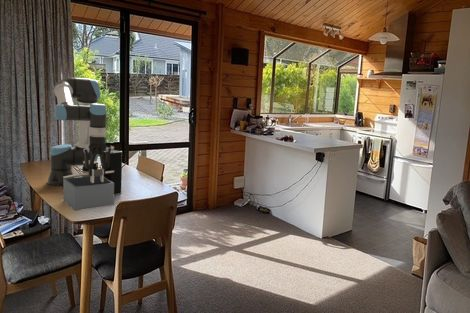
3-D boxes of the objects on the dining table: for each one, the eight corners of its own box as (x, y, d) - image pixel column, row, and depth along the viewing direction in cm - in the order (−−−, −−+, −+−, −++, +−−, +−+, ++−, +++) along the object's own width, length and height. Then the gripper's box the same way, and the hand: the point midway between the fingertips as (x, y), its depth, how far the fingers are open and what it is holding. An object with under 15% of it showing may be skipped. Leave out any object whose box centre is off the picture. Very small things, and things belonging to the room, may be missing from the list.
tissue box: (110, 196, 211) (111, 147, 206) (101, 193, 215) (102, 145, 210) (121, 193, 218) (122, 146, 213) (112, 190, 222) (113, 144, 217)
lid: (63, 180, 195) (63, 174, 195) (101, 176, 208) (100, 171, 208) (78, 177, 177) (77, 171, 177) (118, 173, 190) (117, 167, 190)
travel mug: (98, 190, 220) (98, 160, 216) (95, 194, 212) (95, 163, 208) (84, 189, 219) (84, 160, 215) (80, 193, 211) (80, 162, 207)
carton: (63, 200, 198) (63, 178, 195) (100, 195, 211) (101, 175, 208) (74, 210, 184) (74, 187, 182) (113, 204, 197) (114, 183, 195)
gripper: (82, 137, 173) (82, 185, 178) (117, 136, 185) (116, 181, 189) (77, 134, 179) (76, 181, 184) (111, 134, 190) (110, 178, 195)
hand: (96, 181), depth 186 cm, fingers closed on lid, 4 cm apart
